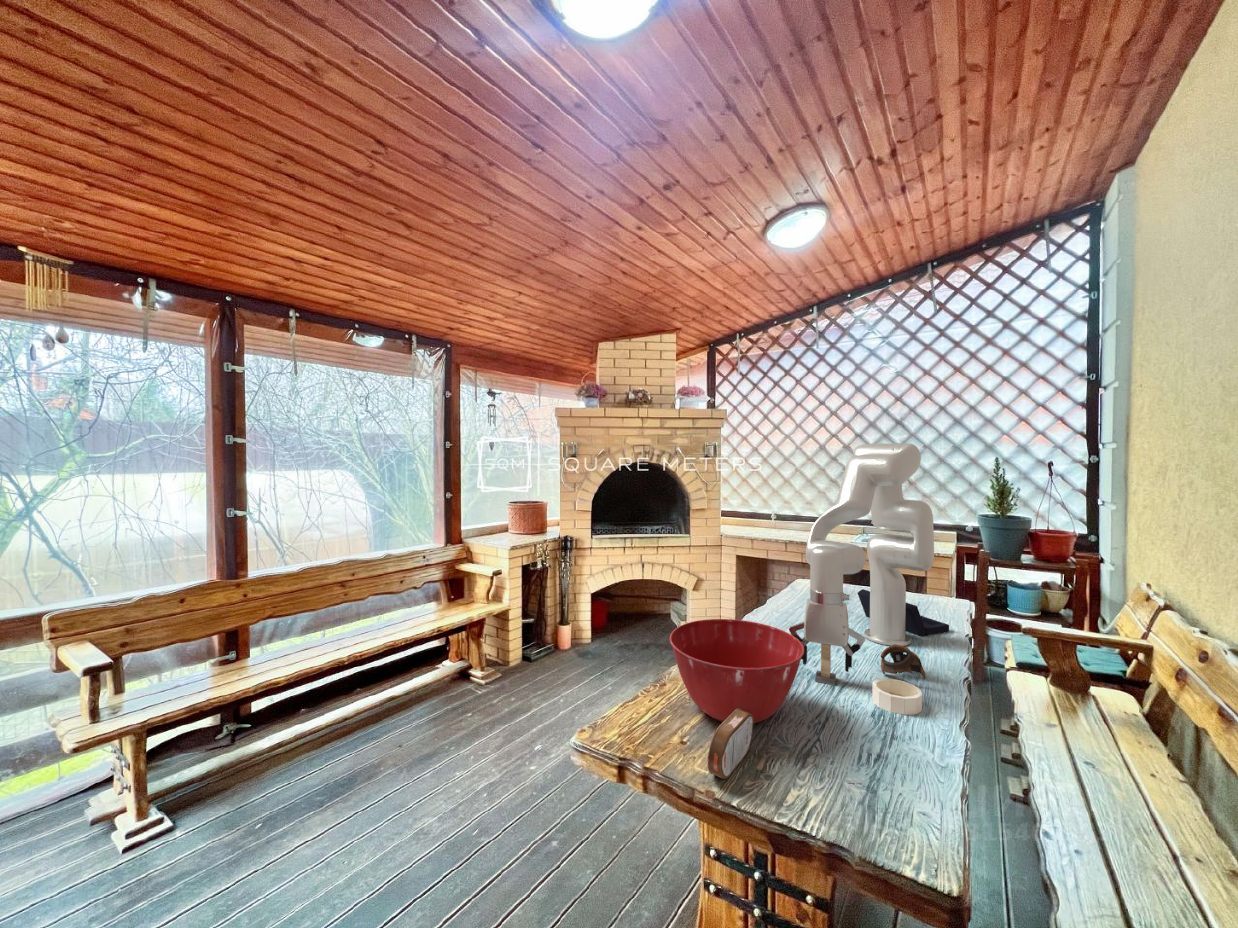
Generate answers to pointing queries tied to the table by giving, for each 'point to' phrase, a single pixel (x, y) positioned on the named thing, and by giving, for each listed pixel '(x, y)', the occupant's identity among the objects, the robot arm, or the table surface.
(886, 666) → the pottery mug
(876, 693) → the cream faceted bowl
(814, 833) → the table surface
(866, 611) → the black laptop
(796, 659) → the mixing bowl
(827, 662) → the wall mounted peg
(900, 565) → the robot arm
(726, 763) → the tin
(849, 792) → the table surface
